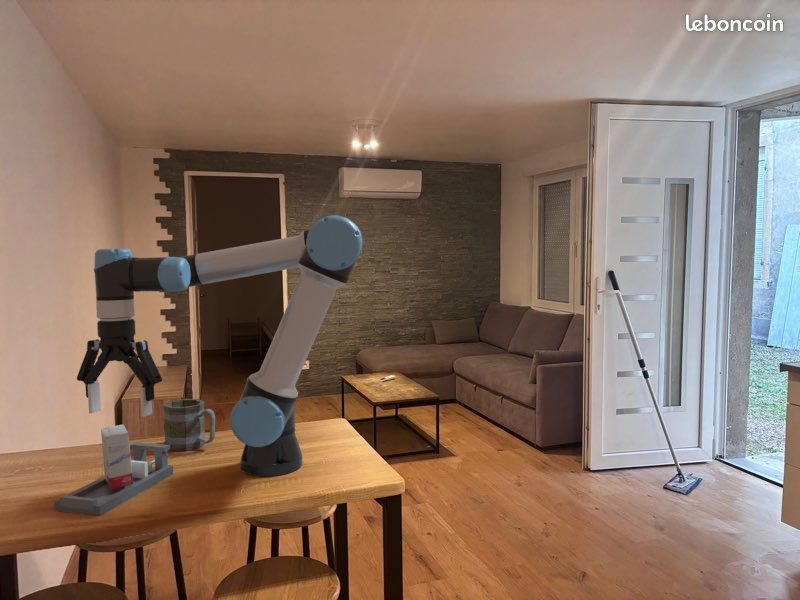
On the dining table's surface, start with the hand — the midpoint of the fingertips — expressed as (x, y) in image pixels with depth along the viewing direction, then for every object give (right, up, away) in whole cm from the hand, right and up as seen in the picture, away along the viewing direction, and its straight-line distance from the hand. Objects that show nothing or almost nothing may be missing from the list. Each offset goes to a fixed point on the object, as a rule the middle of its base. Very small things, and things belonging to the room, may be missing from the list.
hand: (120, 413), depth 130 cm
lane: (-1, -17, 0) cm, 17 cm away
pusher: (+2, -15, +10) cm, 19 cm away
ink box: (-1, -15, 0) cm, 15 cm away
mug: (+5, -15, +31) cm, 35 cm away
